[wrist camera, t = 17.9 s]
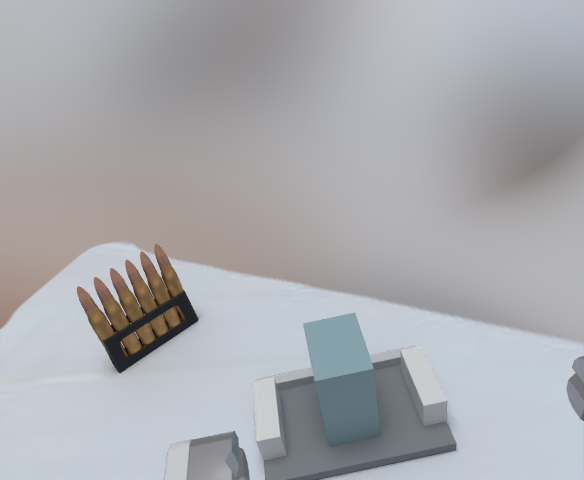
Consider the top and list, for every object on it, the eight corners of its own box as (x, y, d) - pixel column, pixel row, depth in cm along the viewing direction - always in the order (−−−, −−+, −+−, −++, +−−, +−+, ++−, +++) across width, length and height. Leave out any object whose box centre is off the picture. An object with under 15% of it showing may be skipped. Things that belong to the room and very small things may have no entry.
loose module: (329, 446, 38) (314, 381, 33) (317, 388, 43) (303, 323, 38) (380, 435, 38) (373, 368, 33) (363, 378, 43) (354, 312, 38)
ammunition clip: (191, 313, 57) (159, 236, 50) (199, 320, 56) (167, 242, 49) (113, 364, 52) (66, 287, 45) (119, 373, 51) (71, 295, 44)
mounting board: (268, 489, 37) (257, 465, 35) (260, 389, 46) (251, 364, 43) (455, 449, 37) (457, 422, 35) (414, 357, 46) (413, 330, 43)
